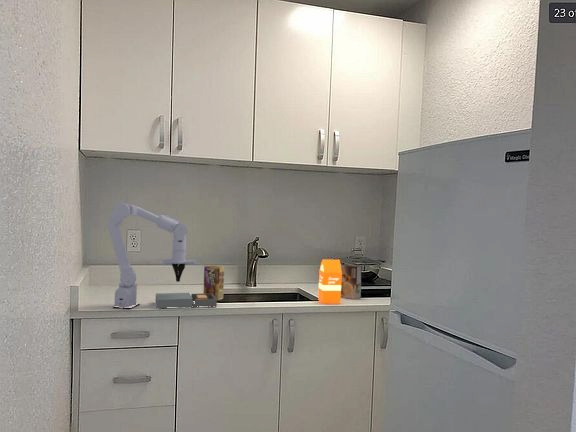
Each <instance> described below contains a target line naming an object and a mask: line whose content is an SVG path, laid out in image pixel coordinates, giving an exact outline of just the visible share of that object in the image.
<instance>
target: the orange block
mask: <svg viewBox="0 0 576 432" xmlns="http://www.w3.org/2000/svg"><path fill="white" fill-rule="evenodd" d="M196 299H208V297H207V296H206V295H196Z"/></svg>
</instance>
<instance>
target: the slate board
mask: <svg viewBox="0 0 576 432" xmlns="http://www.w3.org/2000/svg"><path fill="white" fill-rule="evenodd" d="M156 305H157V306H156ZM155 306H156V309H157V308H167V307H192V297H191V294H190V292H165V293H164V292H162V293H161V292H160V293H155ZM192 308H193V307H192Z"/></svg>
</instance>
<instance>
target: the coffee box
mask: <svg viewBox="0 0 576 432" xmlns="http://www.w3.org/2000/svg"><path fill="white" fill-rule="evenodd" d="M340 265H341V272H342V278H341V298H343V299H345V298H346V299H352V300H357V299H361V298H362V295H361V293H362V265H358V264H349V263H343V264H340Z"/></svg>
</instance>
